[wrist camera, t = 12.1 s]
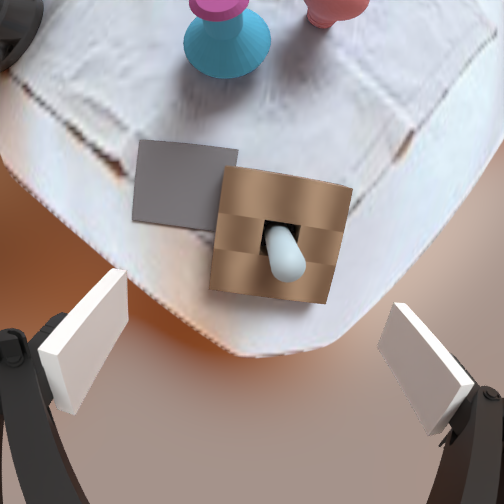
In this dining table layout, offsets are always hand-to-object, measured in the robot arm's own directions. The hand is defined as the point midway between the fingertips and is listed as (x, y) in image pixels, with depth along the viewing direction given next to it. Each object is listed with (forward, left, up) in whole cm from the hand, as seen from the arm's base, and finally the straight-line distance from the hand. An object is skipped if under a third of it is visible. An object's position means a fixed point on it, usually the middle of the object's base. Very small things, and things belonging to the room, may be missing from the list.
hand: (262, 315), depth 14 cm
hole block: (+3, -1, -24) cm, 24 cm away
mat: (-9, +3, -24) cm, 26 cm away
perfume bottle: (-6, +20, -24) cm, 32 cm away
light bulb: (+4, +27, -24) cm, 36 cm away
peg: (+3, -2, -24) cm, 24 cm away
